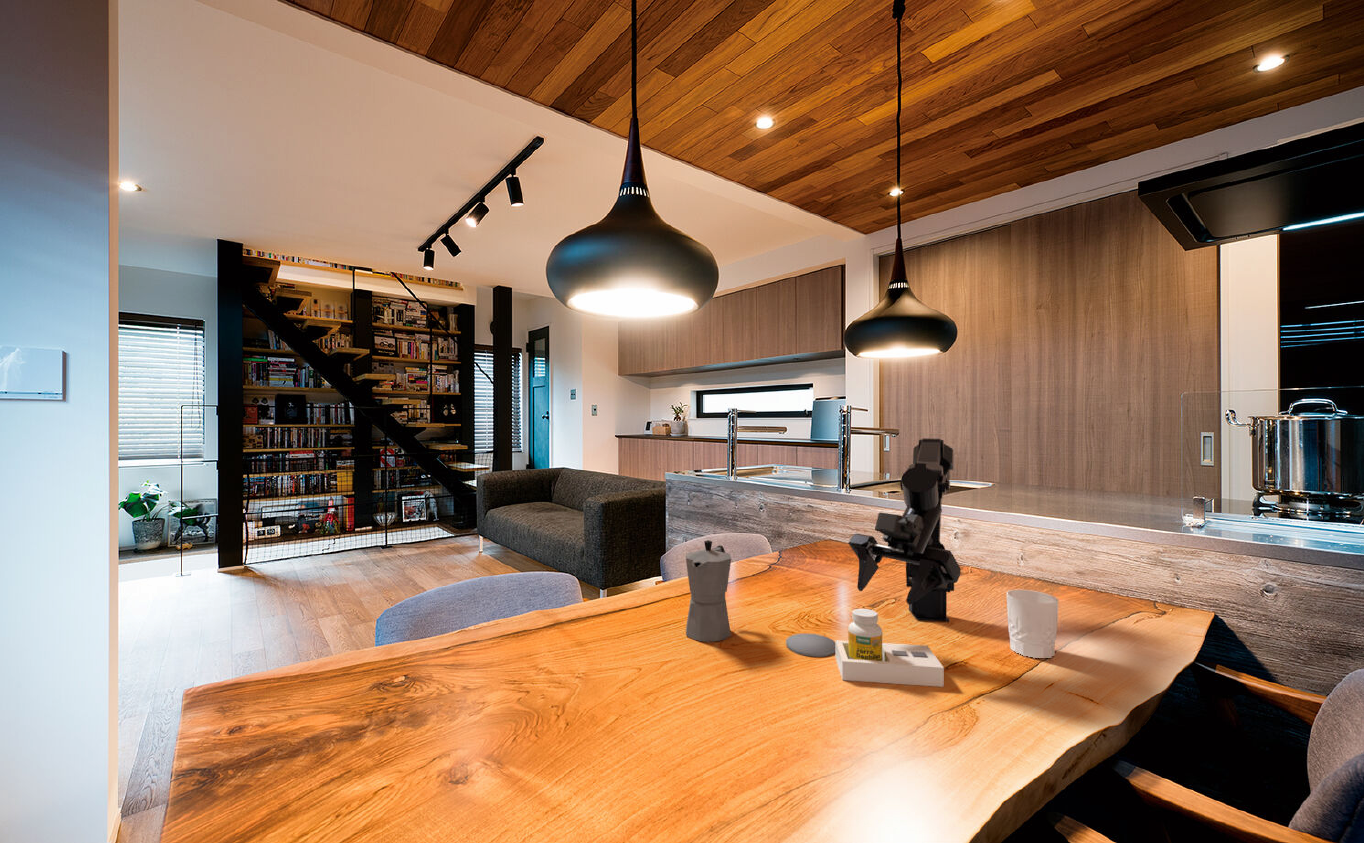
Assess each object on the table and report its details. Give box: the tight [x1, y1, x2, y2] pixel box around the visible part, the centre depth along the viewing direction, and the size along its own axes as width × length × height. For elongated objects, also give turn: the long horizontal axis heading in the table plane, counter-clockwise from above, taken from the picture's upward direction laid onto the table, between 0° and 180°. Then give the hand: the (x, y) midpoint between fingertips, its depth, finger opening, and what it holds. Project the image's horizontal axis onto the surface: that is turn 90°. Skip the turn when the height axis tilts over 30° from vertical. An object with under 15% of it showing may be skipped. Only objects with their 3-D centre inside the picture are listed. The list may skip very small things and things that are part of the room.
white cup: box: [1006, 589, 1059, 659], centre depth 99 cm, size 8×8×10 cm
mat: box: [785, 633, 835, 658], centre depth 101 cm, size 9×9×1 cm
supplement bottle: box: [847, 608, 883, 661], centre depth 92 cm, size 5×5×10 cm
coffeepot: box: [685, 540, 732, 643], centre depth 108 cm, size 15×9×18 cm, turn 157°
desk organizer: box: [834, 639, 945, 688], centre depth 91 cm, size 15×8×3 cm, turn 82°
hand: (882, 596), depth 94 cm, fingers open, 9 cm apart
